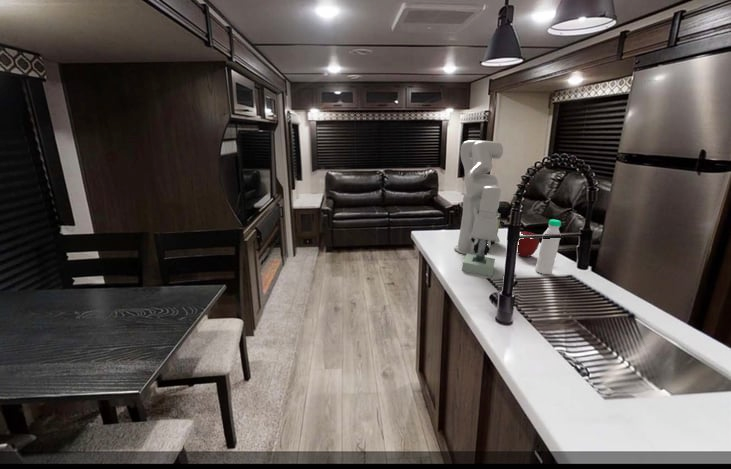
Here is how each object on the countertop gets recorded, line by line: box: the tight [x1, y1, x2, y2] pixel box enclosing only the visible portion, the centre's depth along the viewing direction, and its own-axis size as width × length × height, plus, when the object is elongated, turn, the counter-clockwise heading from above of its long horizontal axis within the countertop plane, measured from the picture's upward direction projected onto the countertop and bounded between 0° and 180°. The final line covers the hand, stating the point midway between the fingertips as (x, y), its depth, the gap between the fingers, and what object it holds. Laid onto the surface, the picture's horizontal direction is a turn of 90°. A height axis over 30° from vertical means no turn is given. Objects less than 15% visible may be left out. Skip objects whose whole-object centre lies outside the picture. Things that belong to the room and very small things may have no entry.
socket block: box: [461, 254, 496, 277], centre depth 156 cm, size 13×13×4 cm
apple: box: [517, 230, 540, 258], centre depth 175 cm, size 12×12×13 cm
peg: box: [475, 239, 488, 261], centre depth 153 cm, size 4×4×11 cm
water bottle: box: [534, 218, 562, 275], centre depth 153 cm, size 7×7×25 cm
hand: (480, 253), depth 154 cm, fingers closed on peg, 4 cm apart
